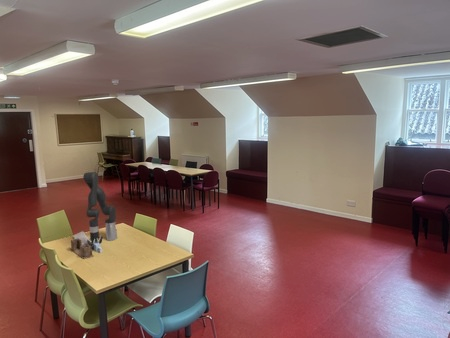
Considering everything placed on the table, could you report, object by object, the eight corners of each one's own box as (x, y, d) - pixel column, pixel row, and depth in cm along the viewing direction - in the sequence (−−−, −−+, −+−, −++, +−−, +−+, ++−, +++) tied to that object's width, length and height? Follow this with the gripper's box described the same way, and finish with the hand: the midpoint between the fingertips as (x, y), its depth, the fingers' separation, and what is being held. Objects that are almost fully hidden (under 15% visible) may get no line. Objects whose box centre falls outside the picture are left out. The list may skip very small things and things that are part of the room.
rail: (92, 245, 298) (92, 239, 297) (103, 252, 282) (103, 245, 282) (88, 246, 295) (87, 240, 294) (99, 253, 280) (98, 246, 279)
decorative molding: (81, 250, 294) (92, 245, 299) (79, 246, 293) (90, 240, 298) (74, 239, 322) (84, 235, 327) (72, 235, 320) (82, 231, 325)
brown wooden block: (79, 247, 294) (78, 238, 292) (93, 256, 274) (92, 246, 272) (70, 250, 288) (69, 240, 287) (84, 259, 268) (83, 248, 267)
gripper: (100, 228, 294) (101, 245, 296) (84, 231, 284) (86, 250, 286) (103, 229, 289) (105, 248, 291) (88, 233, 278) (89, 252, 281)
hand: (95, 249), depth 289 cm, fingers closed on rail, 4 cm apart
